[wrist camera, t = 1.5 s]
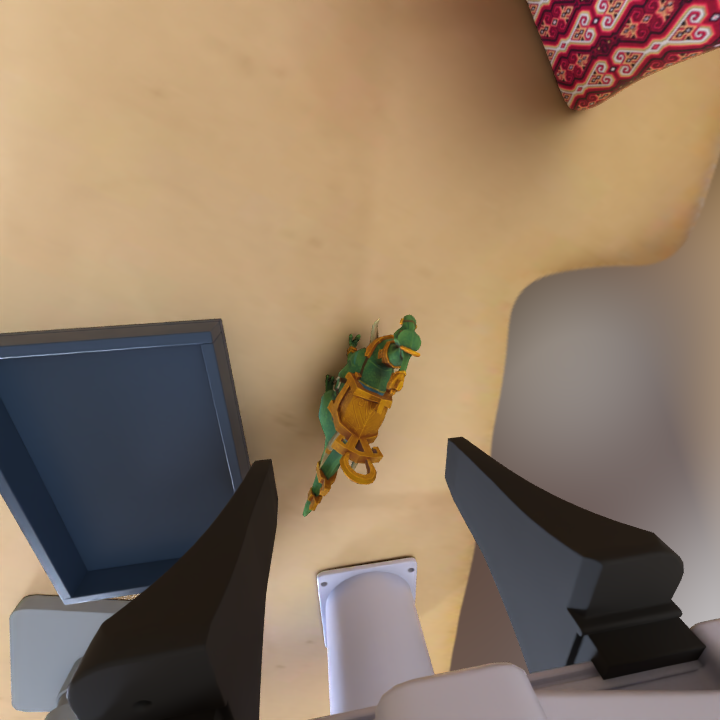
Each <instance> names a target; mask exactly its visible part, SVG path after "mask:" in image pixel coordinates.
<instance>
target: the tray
mask: <svg viewBox="0 0 720 720" xmlns="http://www.w3.org/2000/svg"><path fill="white" fill-rule="evenodd" d="M250 468H251V467H250V462H249V457H248V452H247V447H246V441H245V436H244V431H243V426H242V421H241V416H240V411H239V406H238V401H237V396H236V391H235V386H234V380H233V375H232V370H231V365H230V360H229V355H228V350H227V345H226V340H225V335H224V330H223V325H222V320H221V319H209V320H194V321H179V322H165V323H150V324H135V325H120V326H105V327H91V328H76V329H61V330H46V331H31V332H17V333H2V334H0V494H1V495H2V497H3V499H4V501H5V502H6V504H7V506H8V508H9V509H10V511H11V513H12V514H13V516H14V518H15V520H16V521H17V523H18V525H19V527H20V528H21V530H22V532H23V534H24V535H25V537H26V539H27V540H28V542H29V544H30V546H31V547H32V549H33V551H34V553H35V554H36V556H37V558H38V560H39V561H40V563H41V565H42V567H43V568H44V570H45V572H46V573H47V575H48V577H49V579H50V580H51V582H52V584H53V586H54V587H55V589H56V591H57V593H58V594H59V596H60V598H61V599H62V601H63V603H64V604H65V605H69V604H75V603H82V602H88V601H95V600H101V599H107V598H114V597H120V596H127V595H133V594H140V593H142V592H143V591H145V590H146V589H147V588H148V587H149V586H151V585H152V584H153V583H154V582H155V581H156V580H158V579H159V578H160V577H161V576H162V575H163V574H164V573H165V572H167V571H168V570H169V569H170V568H171V567H172V566H173V565H174V564H175V563H176V562H177V561H178V560H179V559H180V558H181V557H182V556H183V555H184V554H185V553H186V552H187V551H188V550H189V549H190V548H191V547H192V546H193V545H194V544H195V543H196V542H197V540H198V539H199V538H200V537H201V536H202V535H203V534H204V533H205V531H206V530H207V529H208V528H209V527H210V525H211V524H212V523H213V522H214V520H215V519H216V518H217V517H218V515H219V514H220V513H221V511H222V510H223V509H224V507H225V506H226V505H227V503H228V502H229V500H230V499H231V498H232V496H233V495H234V493H235V492H236V490H237V489H238V487H239V486H240V484H241V483H242V481H243V479H244V478H245V476H246V475H247V473H248V471H249V469H250Z"/></svg>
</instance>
